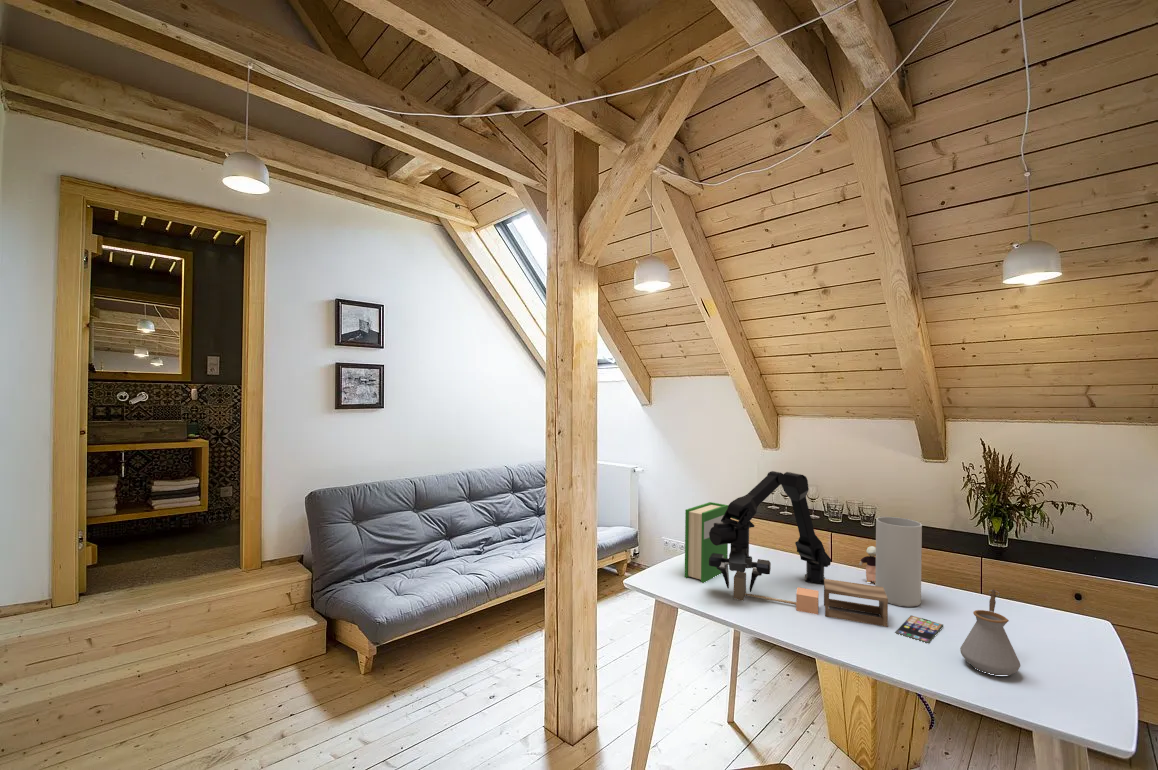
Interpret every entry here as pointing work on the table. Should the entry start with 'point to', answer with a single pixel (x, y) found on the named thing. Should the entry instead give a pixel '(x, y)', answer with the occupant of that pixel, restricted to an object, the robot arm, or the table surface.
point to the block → (804, 599)
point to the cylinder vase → (899, 560)
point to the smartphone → (919, 629)
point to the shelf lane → (858, 592)
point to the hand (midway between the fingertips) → (739, 589)
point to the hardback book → (702, 540)
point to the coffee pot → (990, 643)
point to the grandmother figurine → (870, 564)
